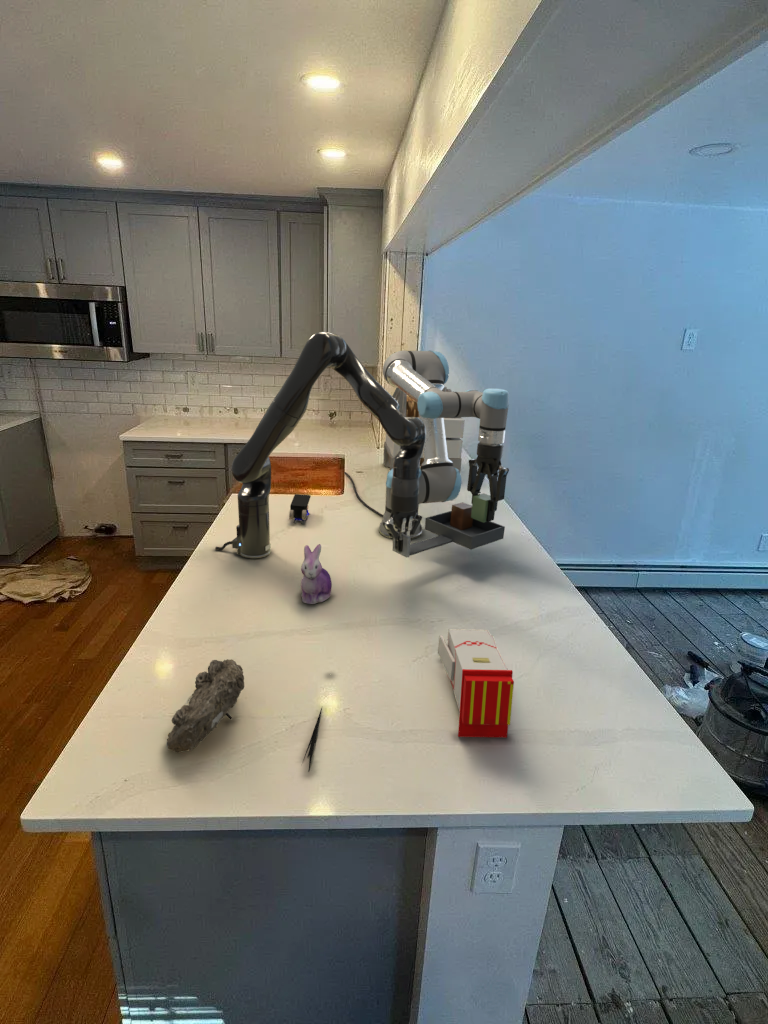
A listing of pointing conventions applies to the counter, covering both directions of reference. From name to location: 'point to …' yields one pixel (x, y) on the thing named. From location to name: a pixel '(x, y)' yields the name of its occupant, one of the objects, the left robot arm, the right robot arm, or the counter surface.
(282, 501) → the counter surface
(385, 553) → the counter surface
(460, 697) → the toy
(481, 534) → the tray
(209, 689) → the fossil
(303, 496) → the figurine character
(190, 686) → the counter surface
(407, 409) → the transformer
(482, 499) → the sage block
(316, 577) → the figurine
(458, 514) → the walnut block
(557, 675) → the counter surface
